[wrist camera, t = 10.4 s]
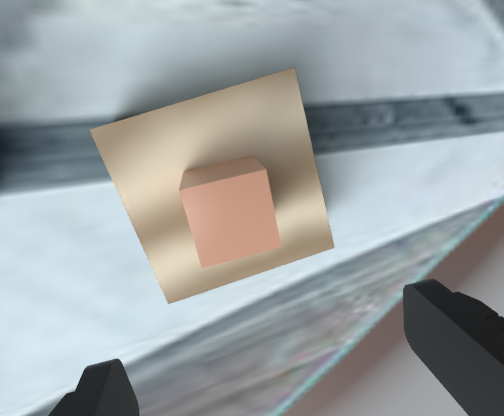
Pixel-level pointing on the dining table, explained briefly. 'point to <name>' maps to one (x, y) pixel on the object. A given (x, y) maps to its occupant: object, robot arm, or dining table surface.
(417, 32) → the dining table surface
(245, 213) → the terracotta block
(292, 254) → the beige square slab
